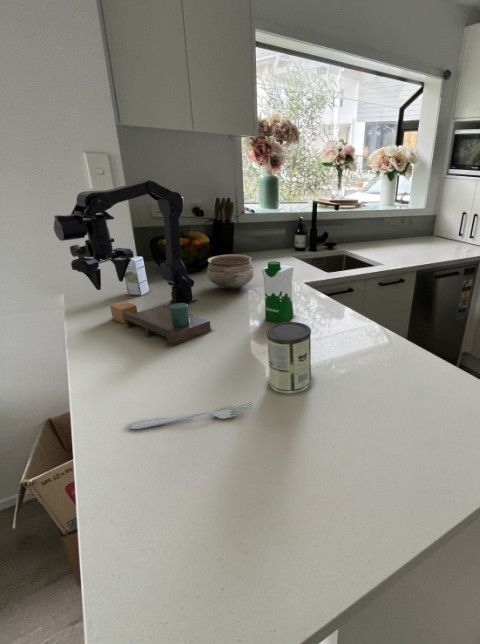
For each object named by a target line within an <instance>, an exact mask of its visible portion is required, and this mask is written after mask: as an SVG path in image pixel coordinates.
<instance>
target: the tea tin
mask: <svg viewBox="0 0 480 644" xmlns="http://www.w3.org/2000/svg"><path fill="white" fill-rule="evenodd" d="M188 305H189V304H188V303H187V304H186V303H173V304H171V305H169V306H170V312H171V319H172V325H173V326H174V327H185V326H188V325H189V324H190V318H189V313H190V311H189V306H188Z"/></svg>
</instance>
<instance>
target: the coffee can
mask: <svg viewBox="0 0 480 644" xmlns="http://www.w3.org/2000/svg"><path fill="white" fill-rule="evenodd" d="M265 333H266V340H267V355H268V356H267V357H268V372H269V373H268V374H269V386H270V388H271V389H272V390H273V391H275V392H276V393H280V394H289V395H290V394H291V395H292V394H298V393H300V392H303V391H306V390H307V389H308V388H309V387H310V386H311V384H312V355H311V354H312V353H311V347H312V345H311V335H312V329H311V327H310V326H309V325H307V324H305V323H302V322H297V321H286V322H283V323H278V322H277V323H275V324H272V325H270V326H269V327H267V329H266V331H265Z"/></svg>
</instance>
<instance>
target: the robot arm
mask: <svg viewBox="0 0 480 644" xmlns="http://www.w3.org/2000/svg"><path fill="white" fill-rule="evenodd" d="M146 195H148V196H149V197H150V198H151V199H153V200H155V201H156V202H157V206H158V209H159V211H160V213H161V216H162V217H163V227H164V242H165V257H166V258H165V261H164V263H160V265H159V266H160V269H161V270H160V276H162V279H163V280H164V281H165V282H167V284H168V286H171V287H170V288H171V291H170V294H171V300H170V302H172V303H173V304H176V303H186V304H187V305H188V304H190V303H193V302H197V301H196V299H195V298H194V297H193V296H194V295H193V289H192V288H193V287H194V285H195V280H193V279H192V278H191V277H189V276H188V274H187V273H188V272H187V268H186V266H185V264H184V263H183V260H182V253H181V250H182V249H181V233H180V217H181V216H182V213H183V211H184V197H183V195H181V194H180V193H179V192H177V191H172V190H170V189H169V188H166V187H165V186H162V185H160V184H159V183H157V182H156V181H154V180H152V179H142V180H140V181H136V182H133V183H129V184H125V185H122V186H118V187H114V188H111V189H106V190H105V189H104V190H87V191H81V192H79V193H78V194H77V196H76V203H75V204H74V207H73V209H72V211H71V213H70V214H68V215H62V214H61V215H60V214H59V215H54V216H53V218H54V221H53V232H54V234H55V236H56V237H57V239H58V240H59V241H61V242H64V241H70V240H71V241H72V240H79V239H84V238H85V237H86V236H87V239H85V241H84V244H85V245H82V246H80V245H79V244H73V245H71V246H69V250H70V251H69V253H70V255H71V256H72V257H74V258H76V259H73V260H72V261H71V262H70V266H71V270H72V271H77V272H79V273H82V274H83V275H84V276H85V277H87V278H88V280H89V281H90V282H91V284H92V285H93V287H94V288H95V289H96V291H101V289H102V274H101V273H102V271H101V268H99V266H100V264H103V263H106V262H109V261H110V262H111V263H112V264H113V265H114V269H115V272H116V276H117V279H118V281H119V282H120V283H121V282H123V281H124V280H125V277H124V276H125V273H126V270H127V267H128V265H129V262H130V261H131V259H130V258H133V257H134V251H133V250H132V249H131V248H126V247H125V248H124V247H117V248H114V247H113V243H115V238H113V237H111V233H110V229H109V224H108V221H109V220H114V219H115V217H114V216H112V214H110V213H109V212H108V210H110V209H111V208H113V207H114V206H115V205H117V204H119V203H122V202H125V201H129V200H133V199H136V198H140V197H143V196H146Z"/></svg>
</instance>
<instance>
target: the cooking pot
mask: <svg viewBox="0 0 480 644" xmlns="http://www.w3.org/2000/svg"><path fill="white" fill-rule="evenodd" d="M207 262H208V265H207V269H206V271H207V272H206V275H207V278H208V279H209V281H210V282H211V283H212V284H214V285H216V286H217V287H220V288H223V289H224V290H227V291H235V290H239V289H241V288H242V287H243V286H245V285H247V284H248V283H250V282H251V281H252V279H253V277H254V275H255V269H254V266H253V263H252V257H251V256H248V255H245V254H231V253H230V254H221V255H219V254H218V255H215V256H211V257H209V258H208V259H207Z"/></svg>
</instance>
